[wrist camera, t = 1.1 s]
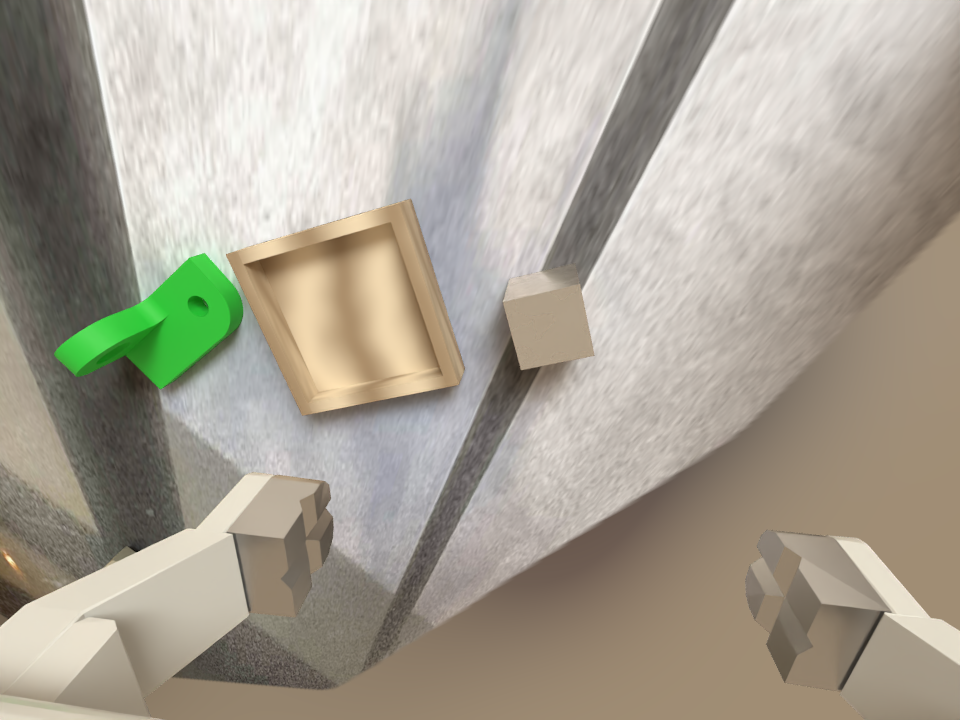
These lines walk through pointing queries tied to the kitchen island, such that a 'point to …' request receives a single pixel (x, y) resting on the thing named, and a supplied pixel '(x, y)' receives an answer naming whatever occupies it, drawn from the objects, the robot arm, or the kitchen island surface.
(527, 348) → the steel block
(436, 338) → the tray
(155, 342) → the mechanical part
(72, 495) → the kitchen island surface
